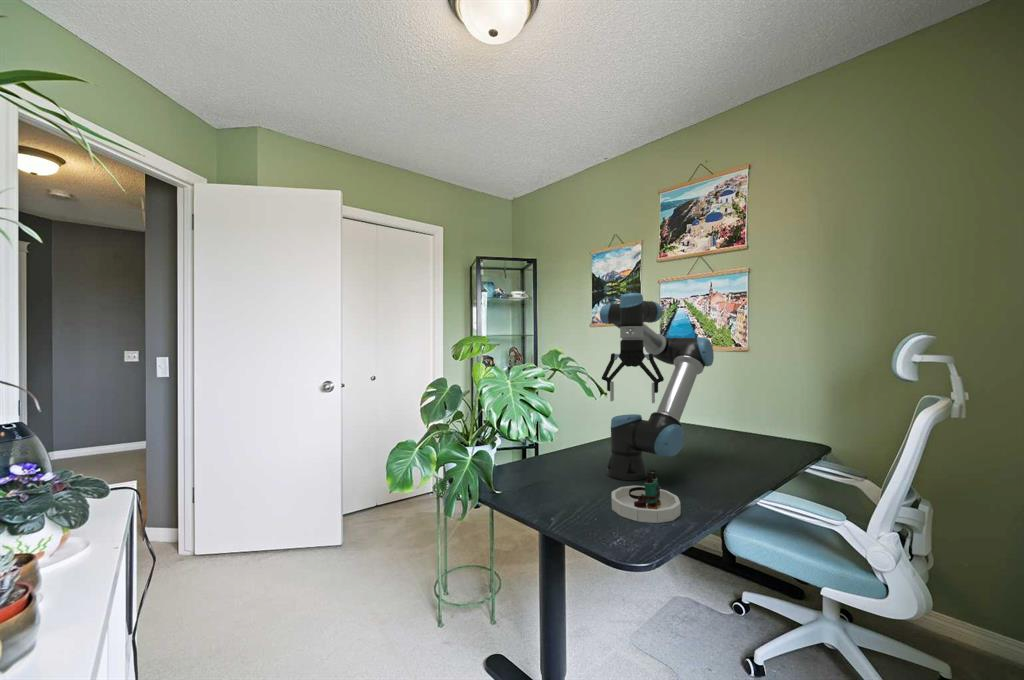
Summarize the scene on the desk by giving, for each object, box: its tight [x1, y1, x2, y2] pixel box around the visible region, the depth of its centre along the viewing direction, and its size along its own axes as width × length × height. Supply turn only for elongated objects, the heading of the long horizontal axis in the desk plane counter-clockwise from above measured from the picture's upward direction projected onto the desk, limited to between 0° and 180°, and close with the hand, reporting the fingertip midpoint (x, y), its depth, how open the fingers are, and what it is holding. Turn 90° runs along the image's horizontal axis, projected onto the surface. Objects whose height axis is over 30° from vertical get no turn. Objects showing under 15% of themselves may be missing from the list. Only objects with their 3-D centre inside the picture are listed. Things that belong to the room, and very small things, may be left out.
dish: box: [611, 485, 682, 524], centre depth 131 cm, size 20×20×4 cm
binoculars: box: [629, 469, 662, 509], centre depth 131 cm, size 9×11×10 cm
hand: (632, 401), depth 142 cm, fingers open, 13 cm apart
